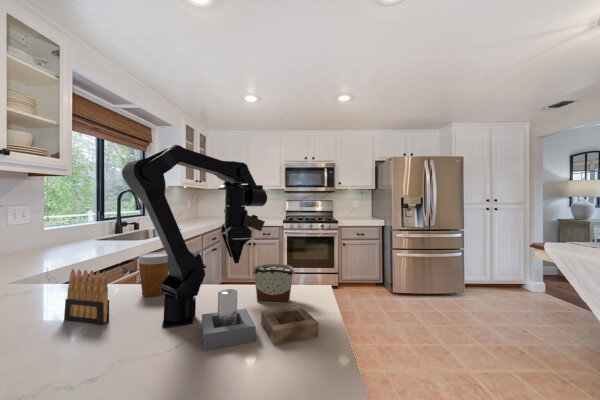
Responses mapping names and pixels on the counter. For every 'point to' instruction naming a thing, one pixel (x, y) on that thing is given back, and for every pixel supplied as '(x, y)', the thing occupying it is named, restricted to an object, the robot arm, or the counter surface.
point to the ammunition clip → (87, 298)
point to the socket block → (227, 330)
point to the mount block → (288, 325)
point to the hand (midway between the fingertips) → (234, 260)
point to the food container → (273, 283)
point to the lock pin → (227, 307)
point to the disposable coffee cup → (152, 272)
